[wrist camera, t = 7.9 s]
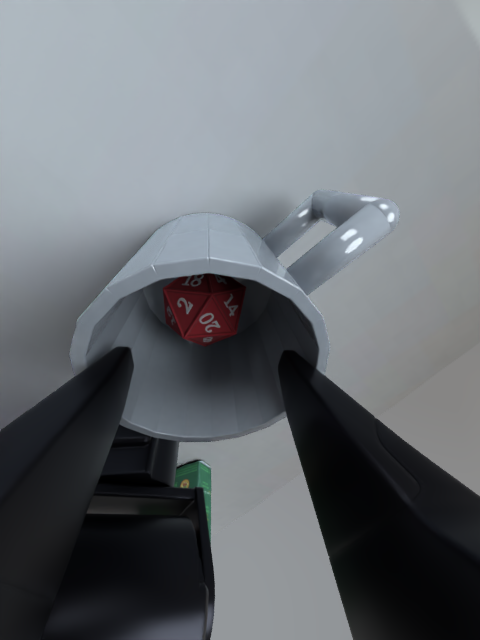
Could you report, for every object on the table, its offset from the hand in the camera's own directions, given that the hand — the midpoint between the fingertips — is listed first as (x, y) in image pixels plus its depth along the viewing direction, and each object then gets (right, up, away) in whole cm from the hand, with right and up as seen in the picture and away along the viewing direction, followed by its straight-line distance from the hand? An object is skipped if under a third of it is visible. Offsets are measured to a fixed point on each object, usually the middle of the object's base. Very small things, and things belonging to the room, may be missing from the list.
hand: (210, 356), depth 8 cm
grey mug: (+1, +4, +4) cm, 6 cm away
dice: (-1, +3, +4) cm, 6 cm away
